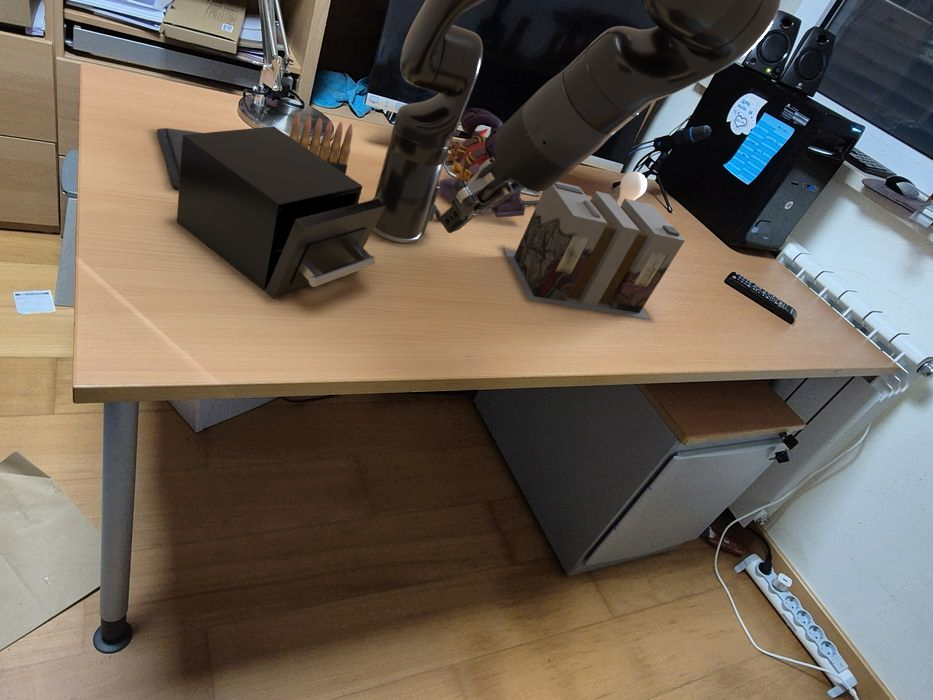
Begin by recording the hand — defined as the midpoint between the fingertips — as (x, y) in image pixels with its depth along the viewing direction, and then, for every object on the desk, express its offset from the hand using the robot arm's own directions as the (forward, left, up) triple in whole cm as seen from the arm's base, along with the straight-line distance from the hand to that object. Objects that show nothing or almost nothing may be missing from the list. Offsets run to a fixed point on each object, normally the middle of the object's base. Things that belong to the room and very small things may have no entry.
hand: (448, 224), depth 70 cm
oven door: (+2, -16, -20) cm, 25 cm away
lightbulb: (-87, -19, -20) cm, 92 cm away
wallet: (0, -50, -20) cm, 54 cm away
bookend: (-45, -2, -20) cm, 49 cm away
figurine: (-46, -32, -20) cm, 60 cm away
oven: (+4, -27, -20) cm, 34 cm away
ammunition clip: (-14, -42, -20) cm, 49 cm away
